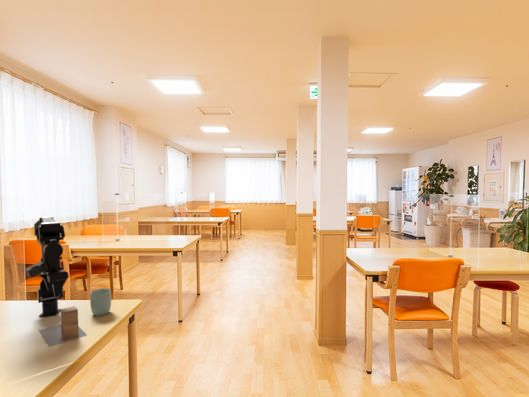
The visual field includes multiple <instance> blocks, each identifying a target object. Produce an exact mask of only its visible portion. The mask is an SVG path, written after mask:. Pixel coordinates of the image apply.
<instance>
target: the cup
mask: <svg viewBox="0 0 529 397" xmlns="http://www.w3.org/2000/svg"><path fill="white" fill-rule="evenodd" d="M111 291H112V289H110V288H97V289H94V290H91V291H90V293H89V294H90V295H89V300H90V302H89V304H90V310H91V313H92V315H93V316H96V317H101V316H105V315H108V314H109V312H111V308H112V292H111Z"/></svg>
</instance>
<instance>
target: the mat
mask: <svg viewBox="0 0 529 397" xmlns="http://www.w3.org/2000/svg"><path fill="white" fill-rule="evenodd" d="M78 329H79V337H75V338H72V339H68V340H64V339H63V338H62V335H61V324H57V325H54V326H49V327H45V328H43V329H39V330H38V332H39V334H40V335H41V337H42V338H43V339H44V342H45V343H46V345H47V346H48V348H51V347H53V346H57V345H60V344H62V343H67V342H70V341H73V340H77V339H81V338H84V337H87V336H88V335H87V333H86V332H85V331H84V330H83V329H82V328H81V327H80V326H79V325H78Z"/></svg>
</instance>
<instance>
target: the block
mask: <svg viewBox="0 0 529 397" xmlns="http://www.w3.org/2000/svg"><path fill="white" fill-rule="evenodd" d="M59 309H60V310H61V311H60V325H61V335H62V338H63V339H64V340H68V339H72V338H75V337H79V329H78V326H79V309H78V308H77V307H76V306H75V305H73V306H70V307H66V308H65V307H64V308H59Z"/></svg>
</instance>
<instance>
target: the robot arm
mask: <svg viewBox="0 0 529 397" xmlns="http://www.w3.org/2000/svg"><path fill="white" fill-rule="evenodd" d="M33 231H34V232H33V234H34V237H36V242H37V243H38V245H40V248H41V258H40V261H39V262H36V263H34V264H32V265H30V266H28V267H26V268H24V271H25V273H26V275H27V277H29V279H30V278H31V279H33V278H34V277H36V276H37V275H38V276H39V277H40V278H42V279H41V281H40V283H39V288H37V302H38V304H40V303H41V306H42V307H41V309H42V312H41V313H40V314H39V315H38V317H40V318H42V317H52V316H57V315H58V314H60V313H61V310H60V309H61V308H59V302H58V301H59V300H62V298H64V286H65V284H66V281H68V279H69V272H68V271H66V270H64V269H63V266H61V265H62V264H61V260H62V259H63V256H62V255H63V252H64V247H63V246H62V245H61V243H60V241H64V238H65V237H66V232H65V227H64V226H63V224H61V222H60V221H56V220H54V216H52V215H41V216H39V218H38V220H37V221H36V222H35V223H34V226H33Z"/></svg>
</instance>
